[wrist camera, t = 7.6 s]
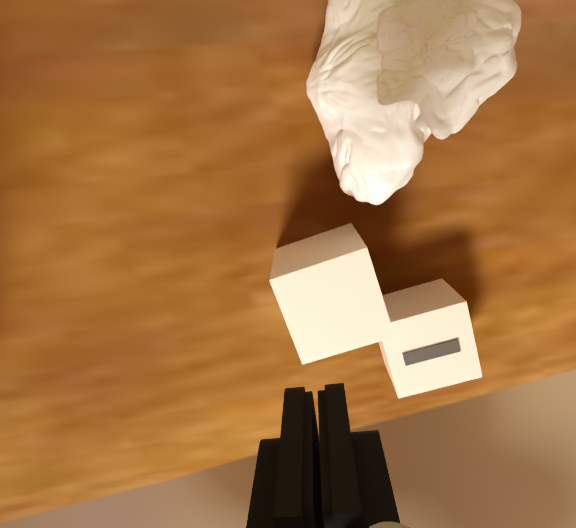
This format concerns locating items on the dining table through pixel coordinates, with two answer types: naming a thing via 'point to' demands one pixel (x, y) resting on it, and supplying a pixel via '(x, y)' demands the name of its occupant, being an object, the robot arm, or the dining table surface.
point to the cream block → (329, 294)
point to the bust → (404, 81)
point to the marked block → (429, 339)
